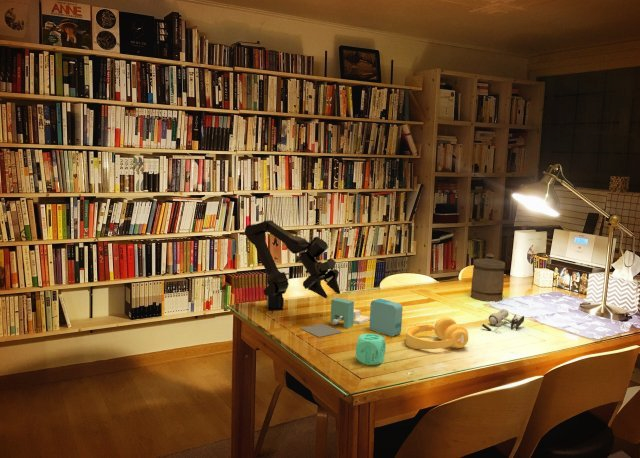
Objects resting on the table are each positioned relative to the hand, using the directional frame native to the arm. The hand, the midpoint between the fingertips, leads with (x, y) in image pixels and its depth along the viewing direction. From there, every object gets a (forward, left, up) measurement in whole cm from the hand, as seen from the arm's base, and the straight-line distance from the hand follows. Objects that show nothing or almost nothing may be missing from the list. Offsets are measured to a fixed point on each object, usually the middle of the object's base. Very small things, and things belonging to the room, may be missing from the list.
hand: (333, 295), depth 221 cm
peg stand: (+6, -1, -11) cm, 13 cm away
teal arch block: (+3, -4, -11) cm, 12 cm away
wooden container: (+87, +27, -11) cm, 92 cm away
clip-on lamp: (+66, -16, -12) cm, 69 cm away
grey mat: (-7, -9, -11) cm, 16 cm away
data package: (+17, -15, -11) cm, 25 cm away
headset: (+30, -30, -12) cm, 44 cm away
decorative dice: (+1, -42, -11) cm, 43 cm away
